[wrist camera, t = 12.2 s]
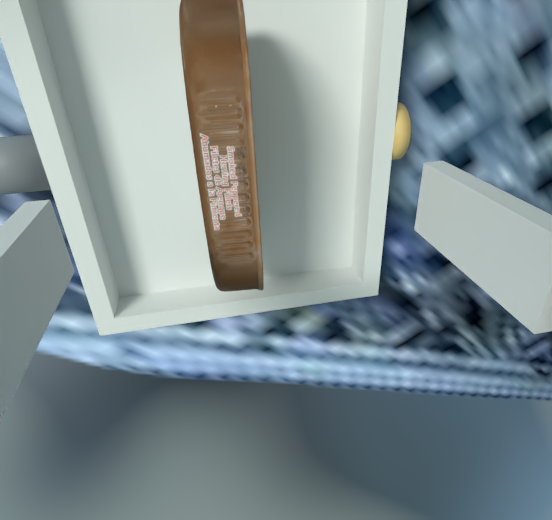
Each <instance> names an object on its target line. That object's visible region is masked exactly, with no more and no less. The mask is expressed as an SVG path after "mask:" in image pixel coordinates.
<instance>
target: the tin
mask: <svg viewBox="0 0 552 520" xmlns="http://www.w3.org/2000/svg"><path fill="white" fill-rule="evenodd" d="M179 27H180V45H181V54H182V65H183V74H184V82H185V91H186V100H187V107H188V115H189V122H190V130H191V136H192V143H193V152H194V158H195V166H196V173H197V180H198V187H199V194H200V200H201V208H202V214H203V220H204V227H205V233H206V239H207V245H208V251H209V258H210V264H211V269H212V274H213V278H214V282H215V285H216V287H217V289H218V290H220V291H224V292H227V291H241V290H251V289H258V290H263V288H264V277H263V259H262V243H261V227H260V211H259V198H258V185H257V169H256V155H255V139H254V126H253V108H252V93H251V79H250V68H249V58H248V45H247V36H246V26H245V15H244V7H243V0H181V2H180V7H179Z"/></svg>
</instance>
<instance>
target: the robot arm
mask: <svg viewBox="0 0 552 520" xmlns="http://www.w3.org/2000/svg"><path fill="white" fill-rule="evenodd" d="M414 230H415V231H416V232H418V233H419V234H420V235H421V236H422V237H423V238H424V239H426V240H427V241H428V242H429V243H430V244H431V245H432V246H434V247H435V248H436V249H437V250H438V251H439V252H440V253H442V254H443V255H444V256H445V257H446V258H447V259H449V260H450V261H451V262H452V263H453V264H454V265H455V266H457V267H458V268H459V269H460V270H461V271H462V272H463V273H465V274H466V275H467V276H468V277H469V278H470V279H471V280H473V281H474V282H475V283H476V284H477V285H478V286H479V287H481V288H482V289H483V290H484V291H485V292H486V293H487V294H489V295H490V296H491V297H492V298H493V299H494V300H496V301H497V302H498V303H499V304H500V305H501V306H502V307H504V308H505V309H506V310H507V311H508V312H509V313H510V314H512V315H513V316H514V317H515V318H516V319H517V320H518V321H520V322H521V323H522V324H523V325H524V326H525V327H526V328H528V329H529V330H530V331H531V332H532V333H533V334H538V333H544V332H550V331H552V215H551V214H549V213H547V212H545V211H543V210H541V209H539V208H537V207H535V206H533V205H531V204H529V203H527V202H525V201H523V200H521V199H519V198H517V197H515V196H513V195H511V194H509V193H507V192H505V191H503V190H501V189H499V188H497V187H495V186H493V185H491V184H489V183H487V182H485V181H483V180H481V179H479V178H477V177H475V176H473V175H471V174H469V173H466V172H464V171H462V170H460V169H458V168H456V167H454V166H452V165H450V164H448V163H446V162H444V161H435V162H425V163H424V165H423V172H422V179H421V186H420V193H419V201H418V208H417V215H416V222H415V229H414ZM73 274H74V269H73V266H72V263H71V260H70V257H69V254H68V251H67V248H66V245H65V242H64V239H63V236H62V233H61V230H60V227H59V224H58V221H57V219H56V216H55V213H54V210H53V207H52V204H51V201H50V200H41V201H31V202H25V203H24V204H23V205H22V206H21V207H20V208H19V209H18V210H17V211H16V212H15V213H14V214H13V215H12V216H11V217H10V218H9V219H8V220H7V221H6V222H5V223H4V224H3V225H2V226H1V227H0V422H1V420H2V417H3V416H4V413H5V411H6V409H7V407H8V405H9V403H10V401H11V399H12V397H13V395H14V393H15V391H16V389H17V387H18V385H19V383H20V381H21V379H22V377H23V375H24V373H25V371H26V369H27V367H28V365H29V363H30V361H31V359H32V357H33V355H34V353H35V351H36V349H37V347H38V345H39V343H40V341H41V338H42V336H43V334H44V332H45V330H46V328H47V326H48V324H49V322H50V320H51V318H52V316H53V314H54V312H55V310H56V308H57V306H58V304H59V302H60V300H61V298H62V296H63V294H64V292H65V290H66V288H67V286H68V284H69V282H70V280H71V278H72V276H73Z"/></svg>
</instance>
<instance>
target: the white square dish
mask: <svg viewBox="0 0 552 520" xmlns="http://www.w3.org/2000/svg"><path fill="white" fill-rule="evenodd" d="M180 2H181V0H0V37H1V40H2V43H3V46H4V49H5V52H6V55H7V58H8V61H9V64H10V67H11V70H12V73H13V76H14V79H15V82H16V85H17V88H18V91H19V94H20V97H21V100H22V103H23V106H24V109H25V112H26V115H27V118H28V121H29V124H30V127H31V130H32V133H33V135H22V136H9V137H0V195H3V194H13V193H24V192H34V191H44V190H52V193H53V196H54V199H55V202H56V205H57V208H58V211H59V214H60V217H61V220H62V223H63V226H64V229H65V232H66V235H67V238H68V241H69V244H70V247H71V250H72V253H73V256H74V259H75V262H76V265H77V268H78V271H79V274H80V277H81V281H82V284H83V287H84V290H85V293H86V296H87V299H88V302H89V305H90V308H91V311H92V314H93V317H94V320H95V323H96V326H97V329H98V332H99V335H100V336H101V335H108V334H115V333H121V332H128V331H135V330H142V329H149V328H156V327H162V326H169V325H176V324H183V323H190V322H197V321H204V320H210V319H217V318H224V317H231V316H238V315H245V314H251V313H258V312H265V311H272V310H279V309H286V308H293V307H299V306H306V305H313V304H320V303H327V302H334V301H340V300H347V299H354V298H361V297H368V296H375V295H378V290H379V280H380V270H381V260H382V250H383V240H384V230H385V220H386V210H387V200H388V190H389V180H390V170H391V160H395V159H401V158H402V157H403V156H404V155H405V153H406V152H407V149H408V146H409V142H410V136H411V123H410V117H409V113H408V111H407V108H406V107H405V105H404V104H402V103H400V102H397V101H398V91H399V81H400V71H401V61H402V51H403V41H404V31H405V21H406V12H407V2H408V0H243V7H244V15H245V26H246V36H247V45H248V58H249V68H250V79H251V93H252V108H253V126H254V139H255V155H256V169H257V185H258V198H259V211H260V227H261V243H262V259H263V277H264V288H263V290H258V289H251V290H241V291H227V292H224V291H220V290H218V289H217V287H216V285H215V282H214V278H213V274H212V269H211V264H210V258H209V251H208V245H207V239H206V233H205V227H204V220H203V214H202V208H201V200H200V194H199V187H198V180H197V173H196V166H195V158H194V152H193V143H192V136H191V130H190V122H189V115H188V107H187V100H186V91H185V82H184V74H183V65H182V54H181V45H180V27H179V7H180Z"/></svg>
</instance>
